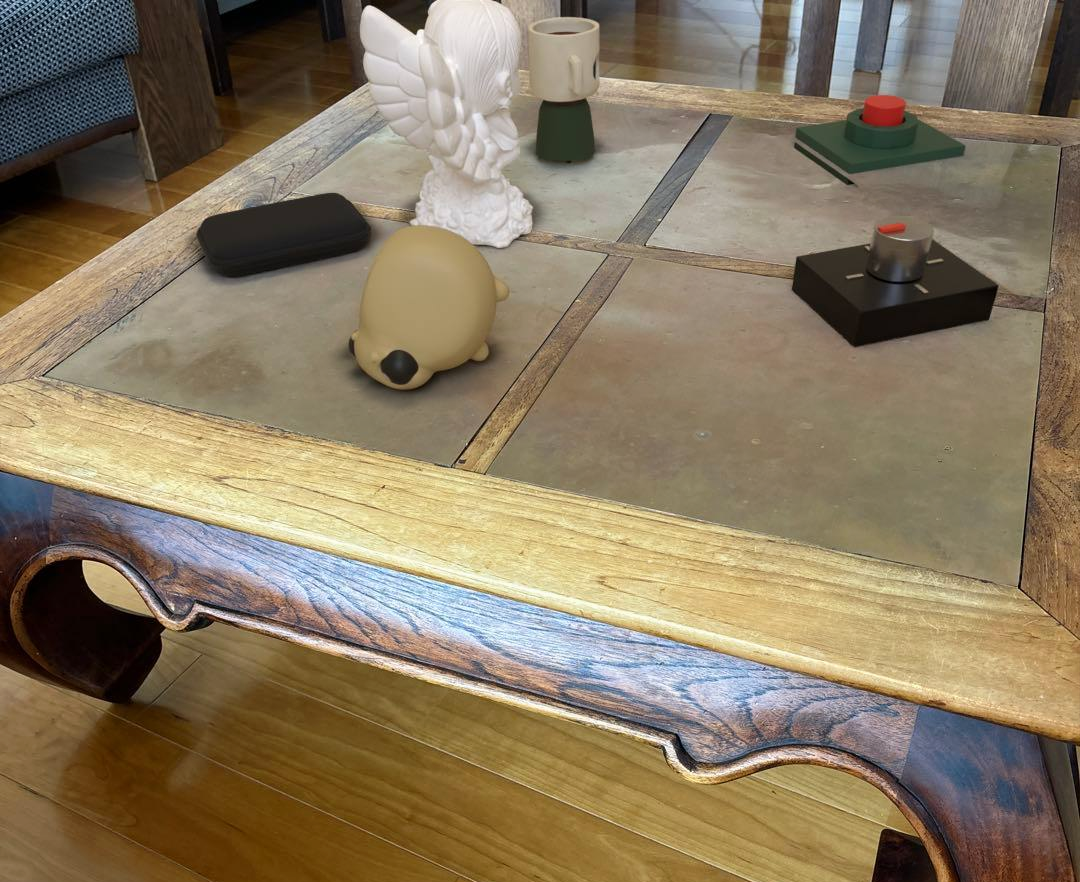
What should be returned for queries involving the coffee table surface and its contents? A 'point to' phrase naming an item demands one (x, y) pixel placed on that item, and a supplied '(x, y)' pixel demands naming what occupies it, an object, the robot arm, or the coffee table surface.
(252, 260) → the carrying case
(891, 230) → the dimmer knob
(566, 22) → the character mug
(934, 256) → the dimmer panel
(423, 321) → the tan pug toy
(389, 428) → the coffee table surface
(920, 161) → the lamp switch
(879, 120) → the light button
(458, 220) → the cherub figurine
